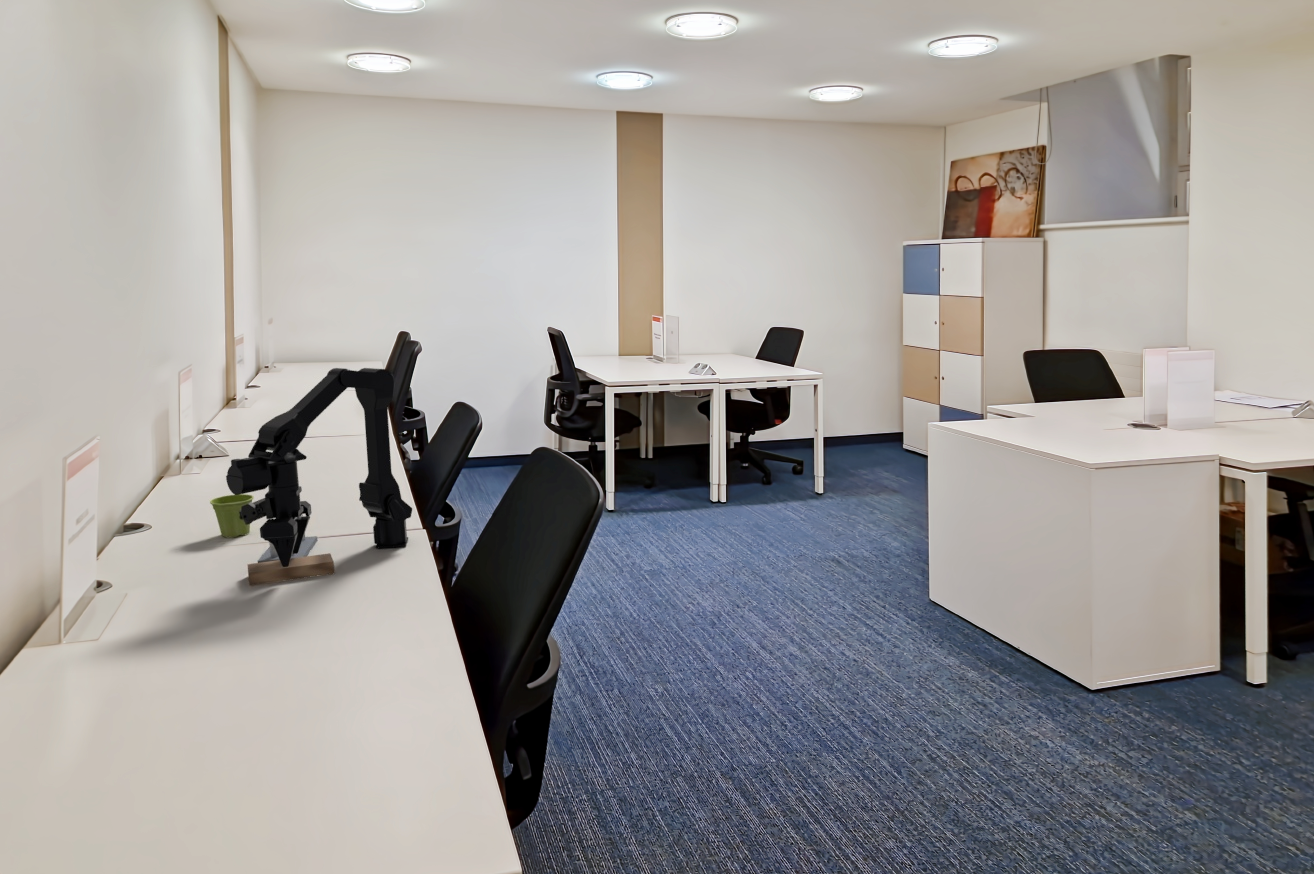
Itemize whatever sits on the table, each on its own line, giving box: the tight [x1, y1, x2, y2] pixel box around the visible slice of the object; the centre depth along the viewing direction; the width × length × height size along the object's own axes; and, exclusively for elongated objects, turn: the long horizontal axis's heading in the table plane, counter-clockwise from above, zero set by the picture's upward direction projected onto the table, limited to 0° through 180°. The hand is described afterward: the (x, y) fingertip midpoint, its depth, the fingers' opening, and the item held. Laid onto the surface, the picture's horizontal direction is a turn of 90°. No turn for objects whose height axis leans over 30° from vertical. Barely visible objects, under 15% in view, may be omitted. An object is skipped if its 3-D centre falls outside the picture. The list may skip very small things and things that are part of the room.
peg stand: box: [257, 533, 318, 563], centre depth 208 cm, size 17×9×5 cm, turn 9°
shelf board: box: [247, 552, 335, 586], centre depth 192 cm, size 16×6×3 cm, turn 114°
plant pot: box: [209, 493, 255, 538], centre depth 224 cm, size 9×9×9 cm
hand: (290, 559), depth 192 cm, fingers open, 9 cm apart
